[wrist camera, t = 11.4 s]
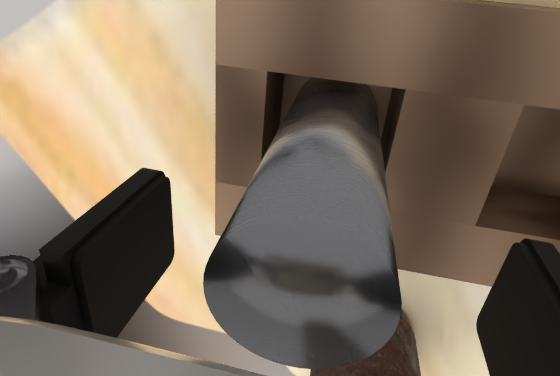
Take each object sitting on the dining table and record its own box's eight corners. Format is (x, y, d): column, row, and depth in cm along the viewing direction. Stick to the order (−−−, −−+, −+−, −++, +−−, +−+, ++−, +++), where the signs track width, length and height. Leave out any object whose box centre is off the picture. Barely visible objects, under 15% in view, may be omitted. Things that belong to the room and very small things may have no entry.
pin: (384, 76, 19) (426, 240, 7) (367, 155, 21) (377, 385, 9) (298, 65, 20) (201, 202, 8) (290, 144, 22) (204, 347, 10)
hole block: (688, 21, 17) (828, 39, 12) (567, 237, 23) (626, 311, 18) (254, -23, 20) (216, -23, 14) (245, 182, 26) (215, 234, 20)
